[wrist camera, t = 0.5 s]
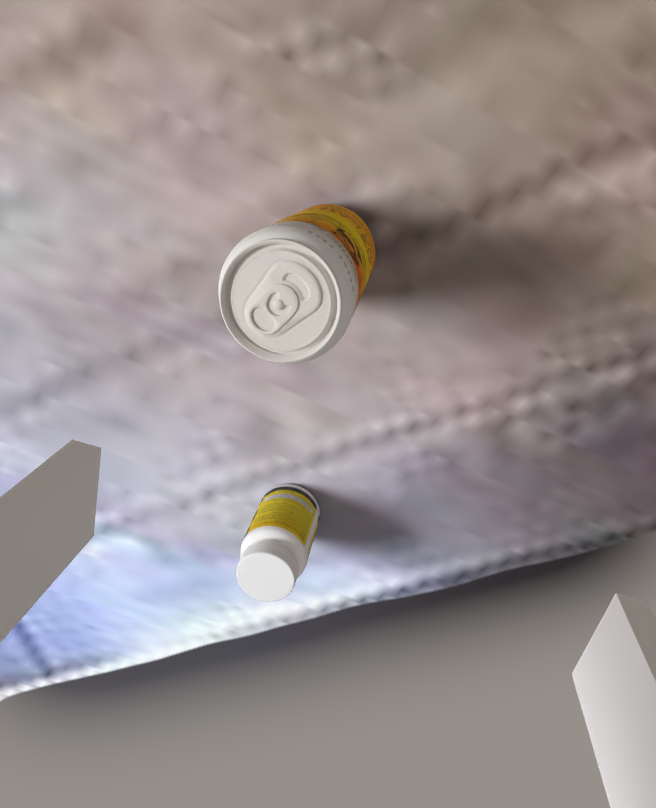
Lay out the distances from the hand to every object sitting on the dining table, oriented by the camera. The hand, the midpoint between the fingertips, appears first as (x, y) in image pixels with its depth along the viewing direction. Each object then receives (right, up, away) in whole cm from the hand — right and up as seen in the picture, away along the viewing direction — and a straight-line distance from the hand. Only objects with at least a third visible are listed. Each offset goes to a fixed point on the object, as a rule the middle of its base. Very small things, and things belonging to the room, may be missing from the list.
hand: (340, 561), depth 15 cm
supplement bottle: (-3, -4, +32) cm, 33 cm away
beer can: (0, +14, +24) cm, 28 cm away
